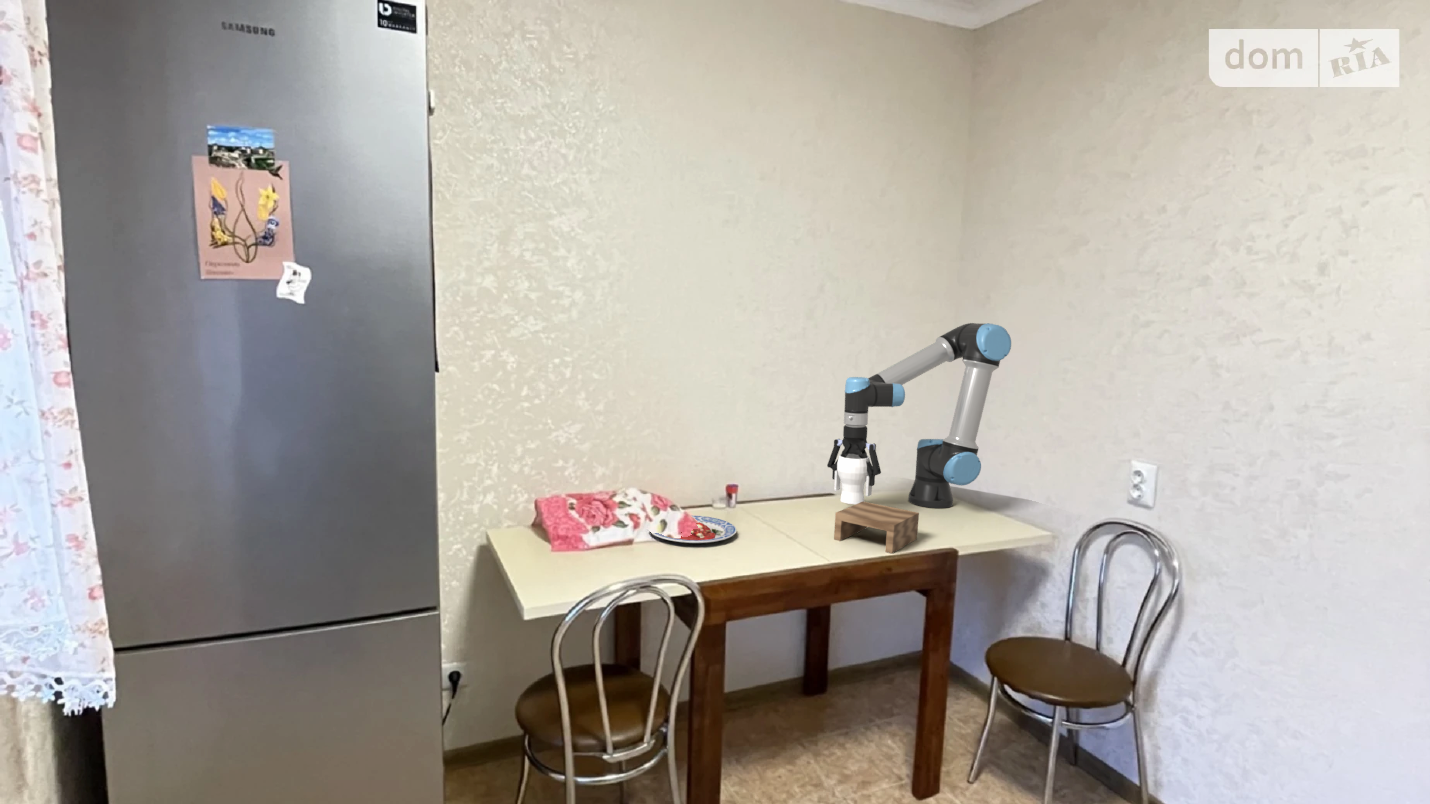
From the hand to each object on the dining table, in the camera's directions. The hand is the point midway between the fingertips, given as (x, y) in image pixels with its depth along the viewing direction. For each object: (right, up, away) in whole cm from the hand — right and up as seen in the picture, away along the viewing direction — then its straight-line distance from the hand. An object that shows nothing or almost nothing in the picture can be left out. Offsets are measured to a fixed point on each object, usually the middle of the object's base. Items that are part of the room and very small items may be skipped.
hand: (852, 492), depth 236 cm
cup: (0, -3, 0) cm, 3 cm away
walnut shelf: (+2, -11, -23) cm, 25 cm away
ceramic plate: (-51, -10, -25) cm, 58 cm away
